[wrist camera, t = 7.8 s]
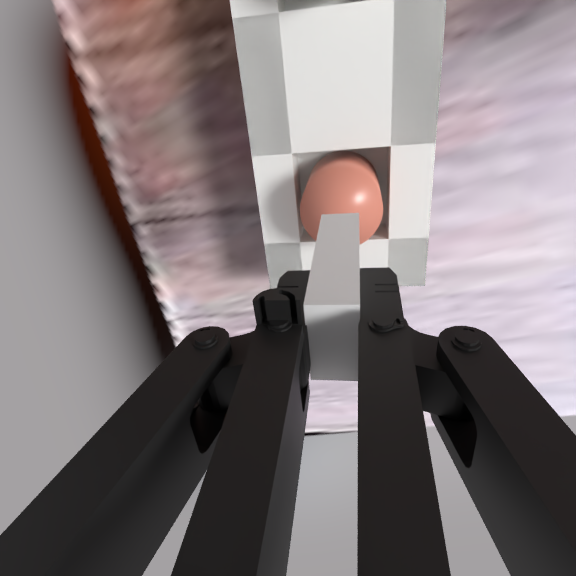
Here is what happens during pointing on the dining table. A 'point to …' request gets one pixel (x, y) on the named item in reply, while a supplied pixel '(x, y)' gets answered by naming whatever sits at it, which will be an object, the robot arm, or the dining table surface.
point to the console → (342, 116)
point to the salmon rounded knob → (342, 193)
